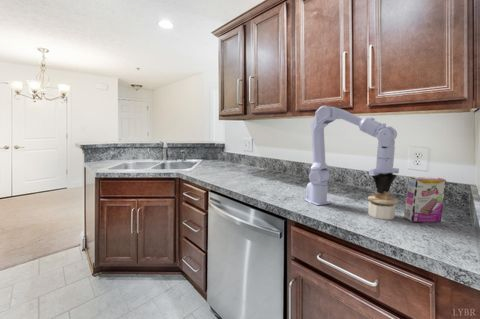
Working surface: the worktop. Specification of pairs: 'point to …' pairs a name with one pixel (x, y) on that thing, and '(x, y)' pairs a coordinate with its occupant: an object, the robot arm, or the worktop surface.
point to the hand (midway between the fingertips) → (382, 192)
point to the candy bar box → (424, 199)
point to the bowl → (381, 210)
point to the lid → (383, 198)
